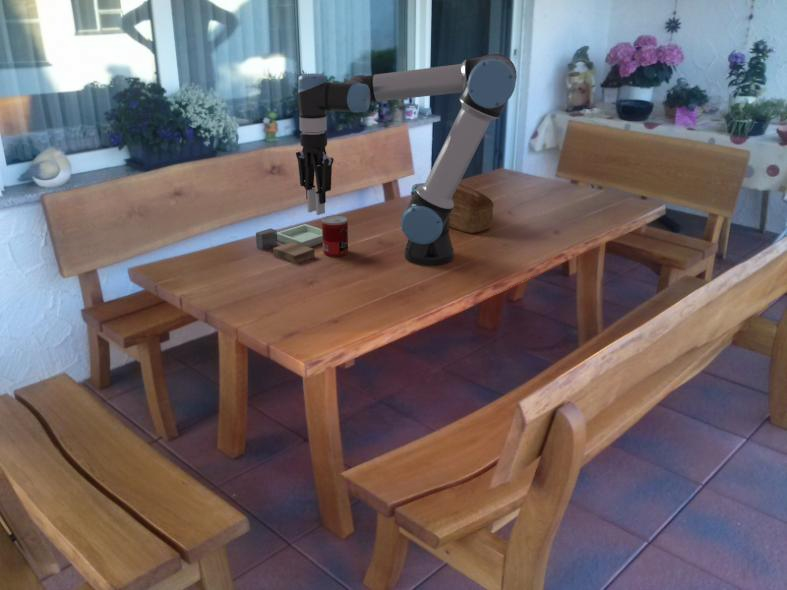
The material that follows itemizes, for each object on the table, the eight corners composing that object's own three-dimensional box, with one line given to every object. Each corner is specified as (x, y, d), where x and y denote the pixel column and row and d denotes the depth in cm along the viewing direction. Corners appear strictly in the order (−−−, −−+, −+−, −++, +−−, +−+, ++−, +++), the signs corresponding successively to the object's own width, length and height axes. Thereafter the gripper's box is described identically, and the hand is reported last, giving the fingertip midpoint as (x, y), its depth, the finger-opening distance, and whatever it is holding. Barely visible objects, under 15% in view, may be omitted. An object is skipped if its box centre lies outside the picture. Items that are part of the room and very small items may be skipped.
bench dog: (277, 245, 241) (276, 230, 239) (262, 249, 237) (261, 234, 235) (271, 242, 243) (270, 228, 241) (256, 247, 239) (255, 232, 237)
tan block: (314, 258, 232) (314, 249, 231) (295, 265, 227) (295, 255, 225) (292, 250, 238) (292, 241, 237) (273, 257, 233) (273, 248, 231)
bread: (474, 237, 250) (476, 198, 244) (409, 216, 270) (410, 179, 265) (497, 229, 257) (500, 191, 252) (433, 209, 278) (434, 174, 272)
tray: (331, 239, 246) (331, 232, 245) (302, 249, 237) (301, 242, 236) (305, 230, 254) (305, 223, 253) (275, 240, 245) (275, 233, 244)
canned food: (344, 258, 231) (344, 223, 227) (319, 256, 233) (318, 222, 228) (351, 249, 238) (350, 216, 234) (326, 247, 240) (325, 214, 235)
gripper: (343, 133, 207) (344, 215, 216) (304, 125, 217) (307, 204, 226) (323, 137, 202) (325, 221, 211) (284, 129, 212) (288, 209, 221)
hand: (316, 212), depth 219 cm, fingers open, 3 cm apart
